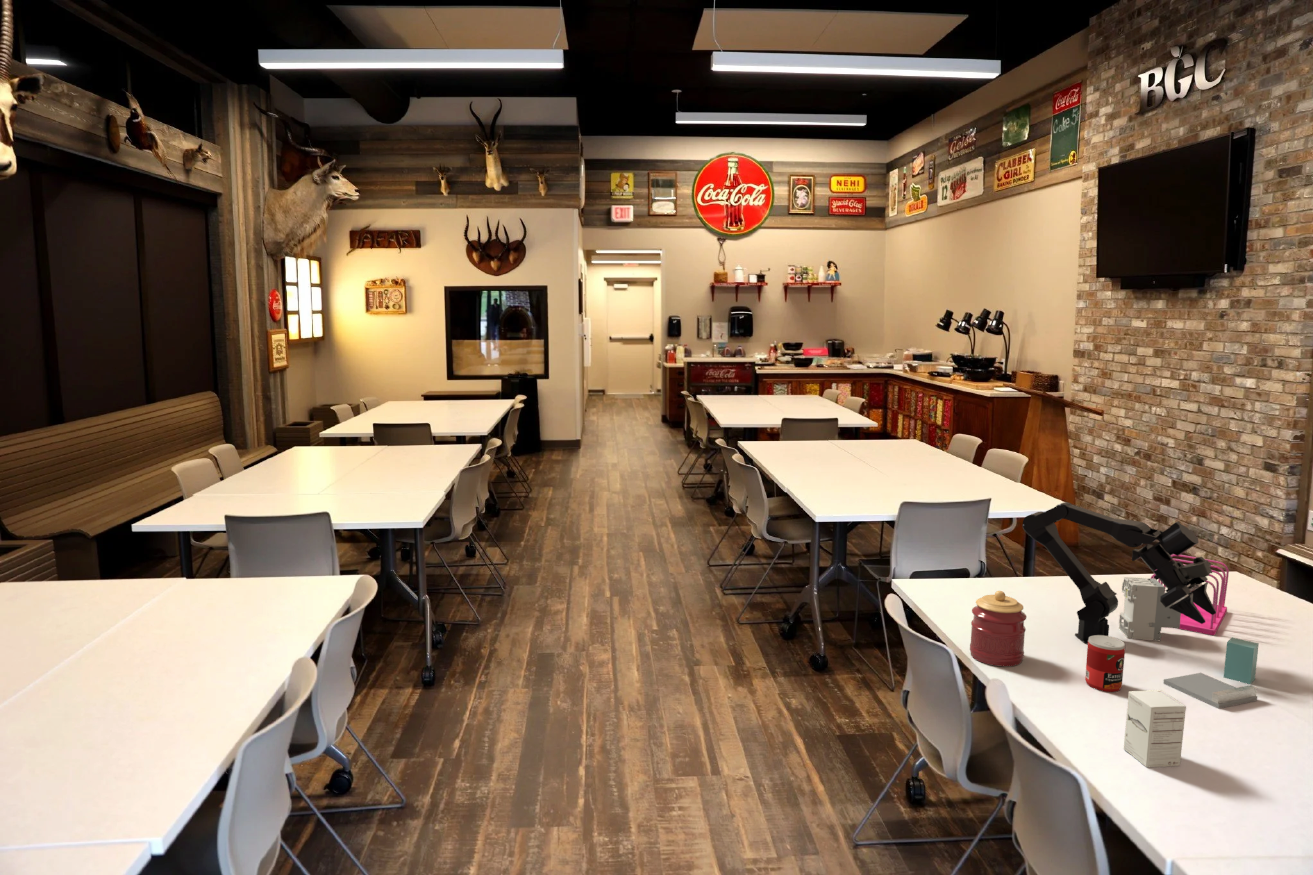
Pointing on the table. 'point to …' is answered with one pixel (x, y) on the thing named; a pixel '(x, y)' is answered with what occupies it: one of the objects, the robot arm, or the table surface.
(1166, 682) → the plate
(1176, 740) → the supplement box
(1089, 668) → the canned food
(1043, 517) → the robot arm
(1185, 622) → the file sorter
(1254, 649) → the block
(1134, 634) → the circuit breaker
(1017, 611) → the canister
